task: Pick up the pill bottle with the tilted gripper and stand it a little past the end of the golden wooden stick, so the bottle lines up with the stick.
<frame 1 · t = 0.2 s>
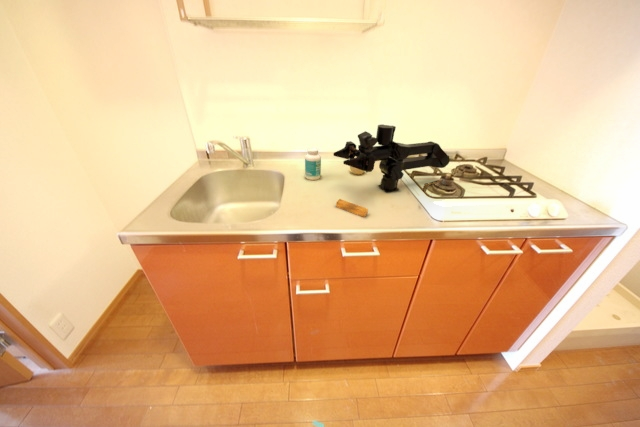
hand: (338, 158, 84), 17 cm above the worktop, tool horizontal, fingers open, 9 cm apart
fry stick: (351, 210, 85), on the worktop
pill bottle: (312, 177, 110), on the worktop
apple: (357, 173, 115), on the worktop
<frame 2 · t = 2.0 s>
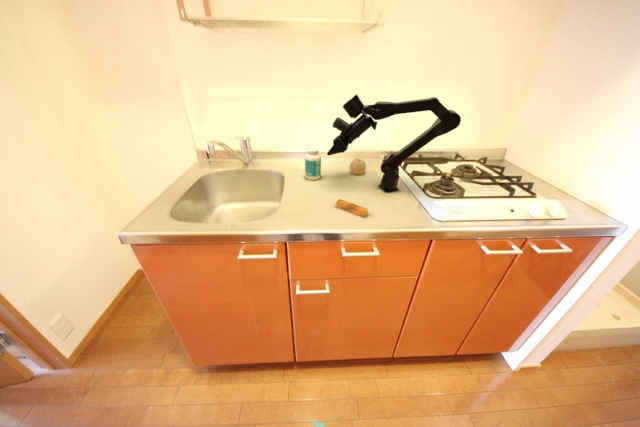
hand: (330, 151, 100), 14 cm above the worktop, tool tilted 45°, fingers open, 9 cm apart
nothing on the worktop moved.
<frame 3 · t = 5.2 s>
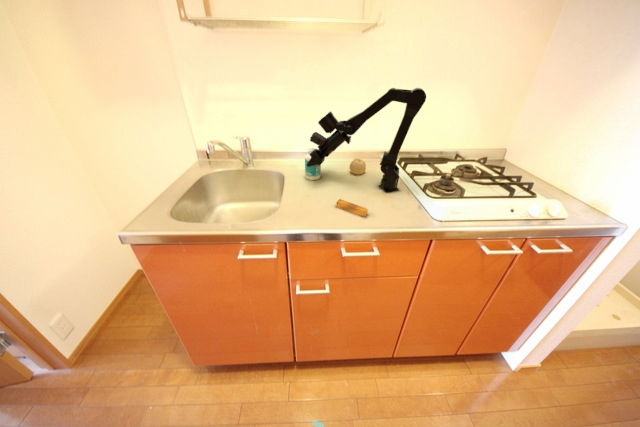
hand: (310, 163, 106), 7 cm above the worktop, tool tilted 45°, fingers closed on pill bottle, 7 cm apart
pill bottle: (312, 177, 110), on the worktop, touching gripper
everything else where it was.
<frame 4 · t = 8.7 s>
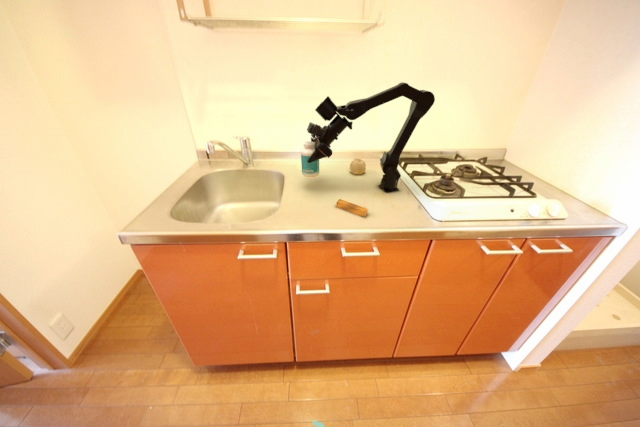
hand: (306, 159, 93), 13 cm above the worktop, tool tilted 45°, fingers closed on pill bottle, 7 cm apart
pill bottle: (310, 175, 97), point 6 cm above the worktop, touching gripper
everything else where it was.
when the fingers open (7 cm above the worktop, at t = 12.4 s): pill bottle stays where it is, on the worktop.
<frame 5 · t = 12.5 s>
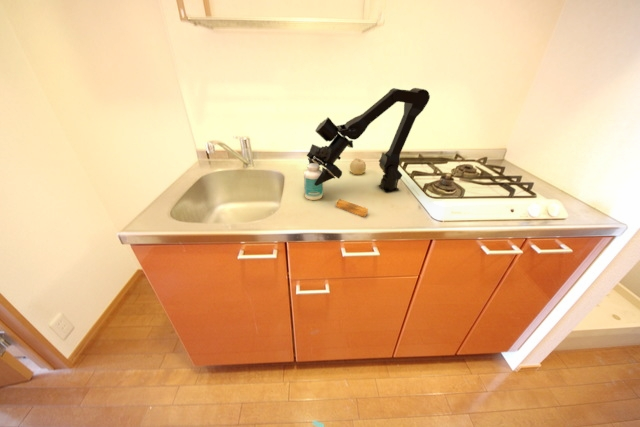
hand: (310, 181, 89), 7 cm above the worktop, tool tilted 45°, fingers open, 7 cm apart
pill bottle: (313, 196, 94), on the worktop
everything else where it was.
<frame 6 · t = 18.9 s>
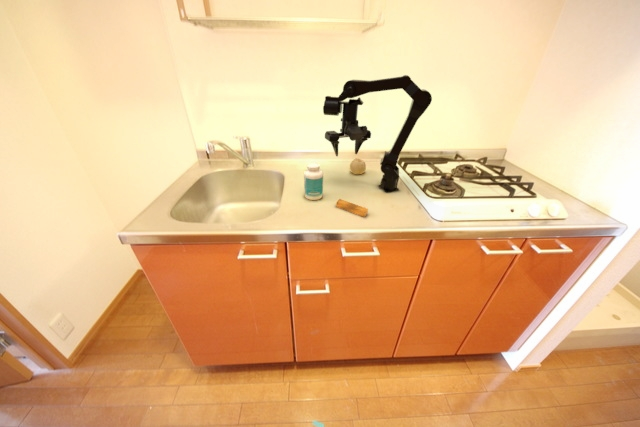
hand: (346, 155, 98), 13 cm above the worktop, tool pointing down, fingers open, 9 cm apart
nothing on the worktop moved.
at the end: pill bottle 0.1 cm from the target spot on the worktop beside the fry stick, on the worktop; pill bottle tilted 0°; the gripper is holding nothing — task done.
